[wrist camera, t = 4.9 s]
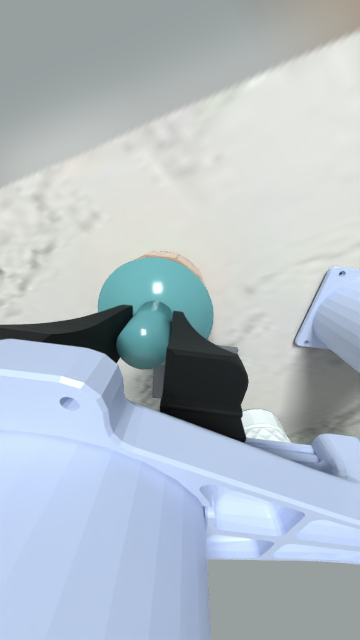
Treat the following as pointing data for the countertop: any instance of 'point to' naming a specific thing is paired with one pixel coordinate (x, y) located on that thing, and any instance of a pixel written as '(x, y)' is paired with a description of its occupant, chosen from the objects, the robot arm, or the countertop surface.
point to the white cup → (263, 426)
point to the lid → (155, 306)
